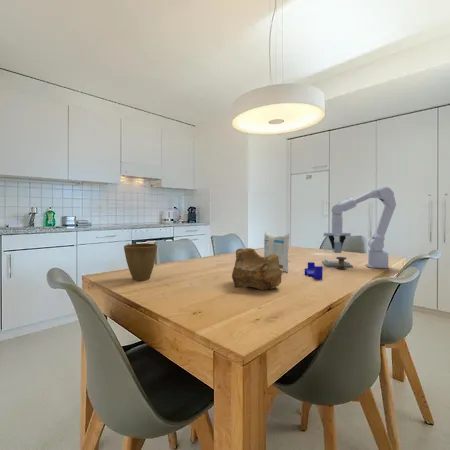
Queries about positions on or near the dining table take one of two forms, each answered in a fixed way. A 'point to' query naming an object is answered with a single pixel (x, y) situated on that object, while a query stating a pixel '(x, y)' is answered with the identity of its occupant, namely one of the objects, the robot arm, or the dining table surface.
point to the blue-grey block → (337, 247)
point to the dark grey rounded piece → (341, 263)
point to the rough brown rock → (256, 270)
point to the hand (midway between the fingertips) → (336, 248)
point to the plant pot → (140, 260)
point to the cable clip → (314, 271)
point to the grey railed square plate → (335, 263)
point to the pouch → (277, 248)
